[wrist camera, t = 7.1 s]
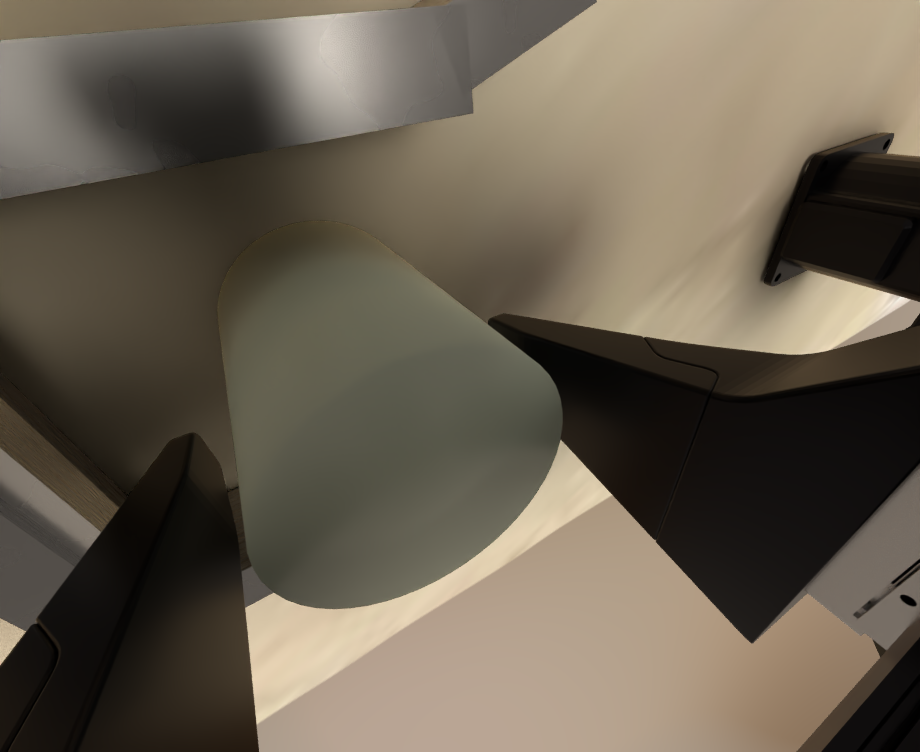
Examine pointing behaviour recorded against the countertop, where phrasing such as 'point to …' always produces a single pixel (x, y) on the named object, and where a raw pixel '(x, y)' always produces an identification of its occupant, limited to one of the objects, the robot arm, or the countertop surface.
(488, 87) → the countertop surface
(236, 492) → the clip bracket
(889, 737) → the robot arm
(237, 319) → the grey rounded piece
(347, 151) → the countertop surface
